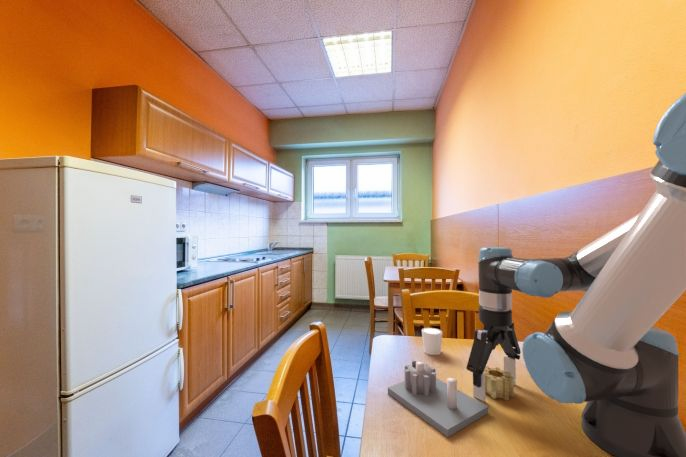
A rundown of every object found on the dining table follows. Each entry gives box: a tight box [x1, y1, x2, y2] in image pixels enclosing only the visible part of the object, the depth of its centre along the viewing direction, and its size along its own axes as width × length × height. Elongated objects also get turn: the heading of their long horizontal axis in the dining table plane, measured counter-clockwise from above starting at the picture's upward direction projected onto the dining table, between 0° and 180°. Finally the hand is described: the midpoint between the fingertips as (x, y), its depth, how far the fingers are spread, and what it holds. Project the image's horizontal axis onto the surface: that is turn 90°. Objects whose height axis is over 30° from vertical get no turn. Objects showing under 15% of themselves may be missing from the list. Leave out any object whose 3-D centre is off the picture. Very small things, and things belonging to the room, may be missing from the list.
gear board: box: [387, 360, 489, 438], centre depth 68 cm, size 18×14×8 cm
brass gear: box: [483, 365, 515, 401], centre depth 73 cm, size 8×8×4 cm
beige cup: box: [421, 327, 443, 356], centre depth 97 cm, size 7×7×7 cm
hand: (495, 390), depth 73 cm, fingers open, 13 cm apart
